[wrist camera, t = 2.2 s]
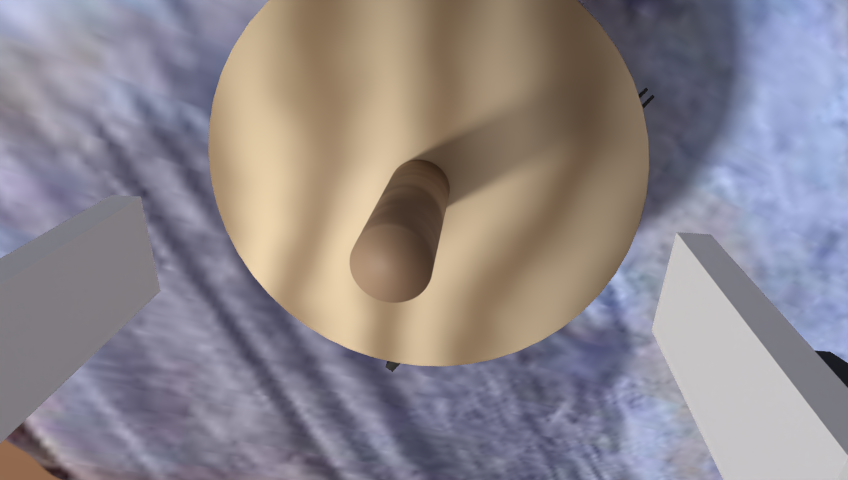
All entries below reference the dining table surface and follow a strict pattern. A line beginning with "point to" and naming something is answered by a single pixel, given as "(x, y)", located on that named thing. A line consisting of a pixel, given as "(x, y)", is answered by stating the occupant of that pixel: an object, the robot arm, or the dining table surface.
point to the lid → (429, 169)
